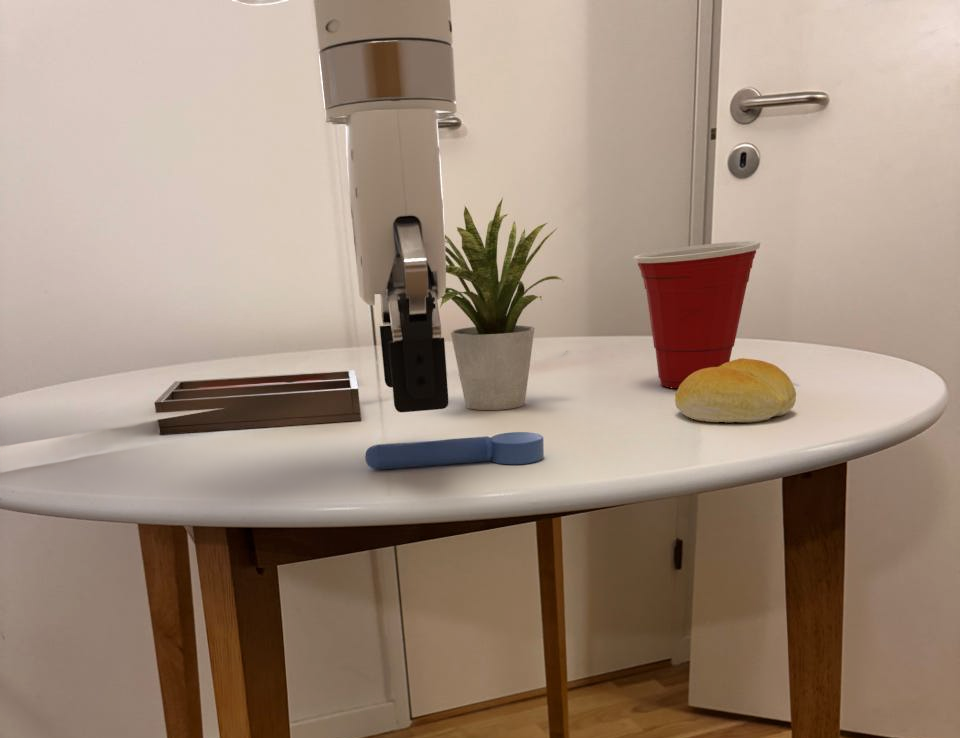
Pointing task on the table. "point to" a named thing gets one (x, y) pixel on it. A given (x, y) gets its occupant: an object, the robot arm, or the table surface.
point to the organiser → (260, 402)
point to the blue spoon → (458, 451)
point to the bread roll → (736, 392)
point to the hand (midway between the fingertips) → (414, 396)
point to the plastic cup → (695, 304)
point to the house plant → (492, 316)
